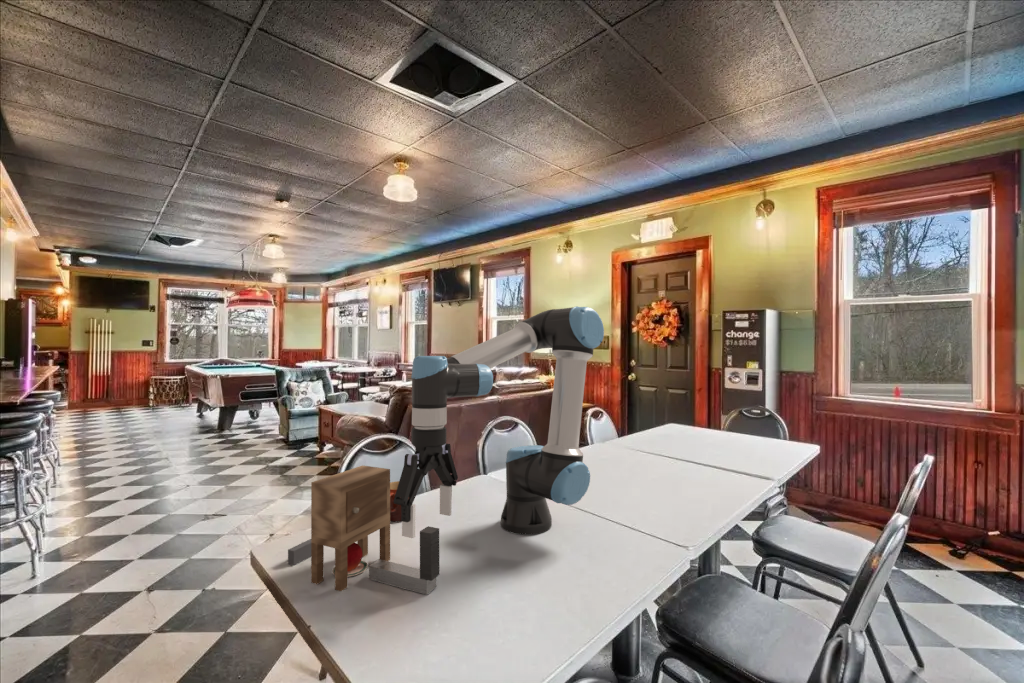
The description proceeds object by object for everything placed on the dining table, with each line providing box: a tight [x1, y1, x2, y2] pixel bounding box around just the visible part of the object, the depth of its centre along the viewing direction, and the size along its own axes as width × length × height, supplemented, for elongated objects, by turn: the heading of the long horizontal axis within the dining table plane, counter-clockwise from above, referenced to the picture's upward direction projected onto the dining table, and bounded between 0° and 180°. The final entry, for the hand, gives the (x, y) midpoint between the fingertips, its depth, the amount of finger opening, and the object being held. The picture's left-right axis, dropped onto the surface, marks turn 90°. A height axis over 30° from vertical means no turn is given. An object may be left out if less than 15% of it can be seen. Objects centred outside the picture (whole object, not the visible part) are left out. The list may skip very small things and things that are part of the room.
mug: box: [390, 480, 409, 523], centre depth 137 cm, size 12×9×10 cm
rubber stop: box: [287, 538, 311, 567], centre depth 113 cm, size 2×8×4 cm, turn 155°
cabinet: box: [310, 464, 391, 592], centre depth 106 cm, size 10×16×22 cm, turn 155°
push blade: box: [368, 526, 440, 596], centre depth 100 cm, size 17×4×13 cm, turn 65°
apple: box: [331, 542, 369, 578], centre depth 106 cm, size 8×8×6 cm
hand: (428, 524), depth 97 cm, fingers open, 13 cm apart
